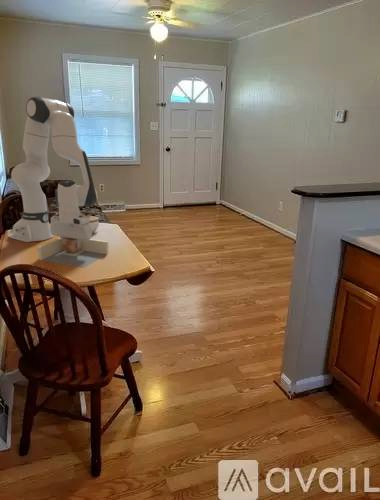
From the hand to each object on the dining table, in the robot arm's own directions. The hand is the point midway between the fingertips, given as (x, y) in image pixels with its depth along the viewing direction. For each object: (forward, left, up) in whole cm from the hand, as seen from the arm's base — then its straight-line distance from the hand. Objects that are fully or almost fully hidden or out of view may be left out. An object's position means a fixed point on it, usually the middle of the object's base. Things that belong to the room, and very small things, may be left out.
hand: (71, 246), depth 175 cm
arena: (+4, -4, -4) cm, 7 cm away
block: (0, 0, -2) cm, 2 cm away
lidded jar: (-14, +35, -4) cm, 39 cm away
